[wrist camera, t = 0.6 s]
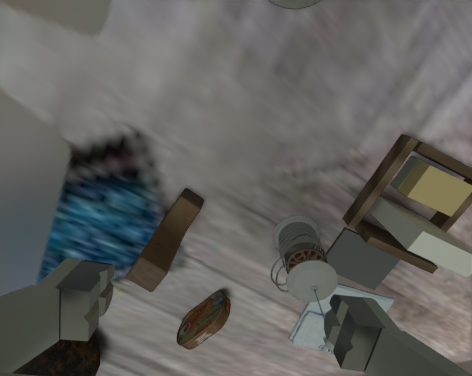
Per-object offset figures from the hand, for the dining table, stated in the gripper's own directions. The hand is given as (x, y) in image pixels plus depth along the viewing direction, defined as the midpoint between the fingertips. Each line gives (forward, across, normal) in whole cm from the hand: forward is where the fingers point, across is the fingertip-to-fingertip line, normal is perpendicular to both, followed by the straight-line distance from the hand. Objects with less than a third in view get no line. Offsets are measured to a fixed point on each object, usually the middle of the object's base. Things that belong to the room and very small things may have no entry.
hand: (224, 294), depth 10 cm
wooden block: (+42, +6, +13) cm, 45 cm away
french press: (+41, -17, +16) cm, 47 cm away
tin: (+44, -2, +37) cm, 58 cm away
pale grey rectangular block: (+38, -35, +6) cm, 52 cm away
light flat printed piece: (+42, -34, +34) cm, 64 cm away
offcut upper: (+35, -37, -1) cm, 51 cm away
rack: (+38, -36, +2) cm, 52 cm away
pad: (+40, -32, +17) cm, 54 cm away
